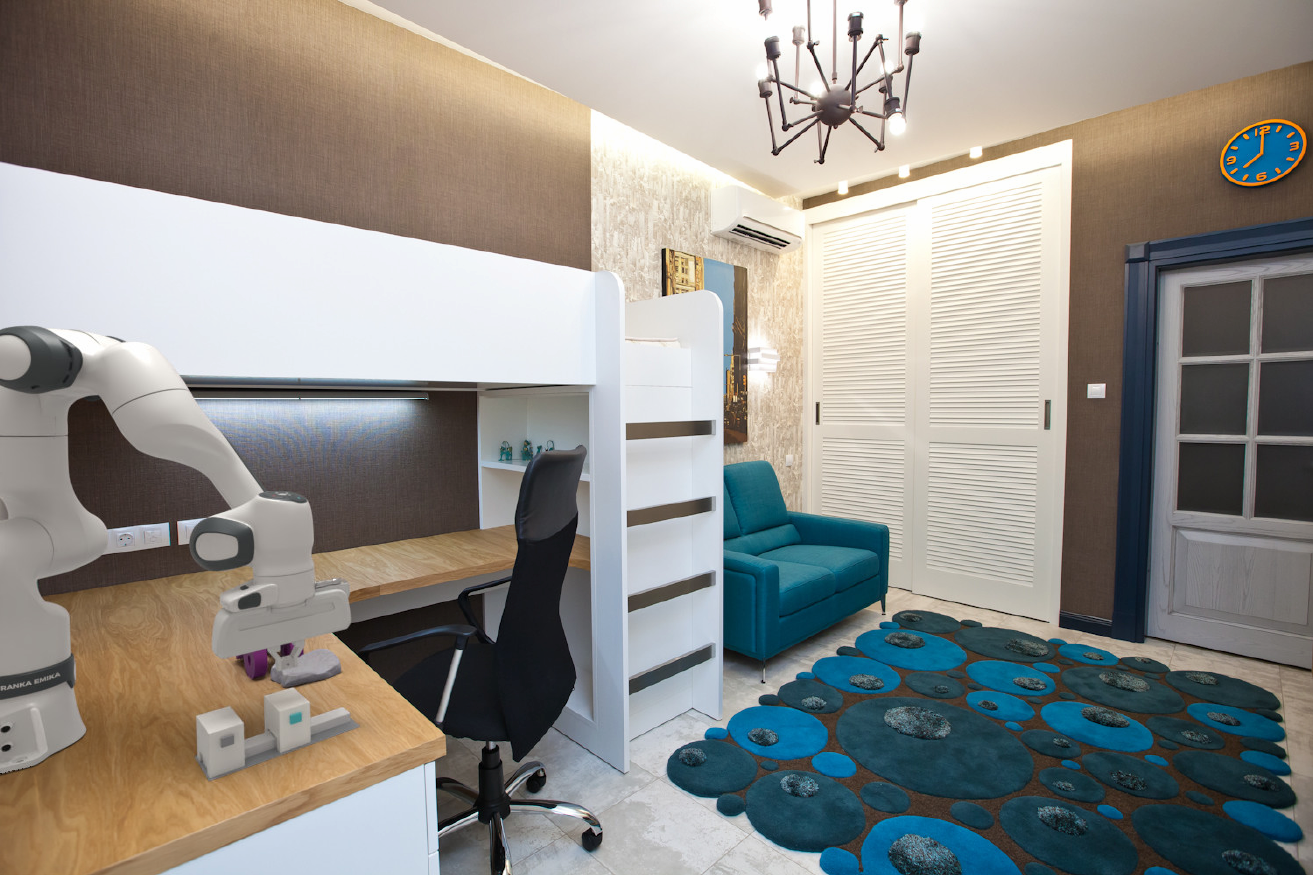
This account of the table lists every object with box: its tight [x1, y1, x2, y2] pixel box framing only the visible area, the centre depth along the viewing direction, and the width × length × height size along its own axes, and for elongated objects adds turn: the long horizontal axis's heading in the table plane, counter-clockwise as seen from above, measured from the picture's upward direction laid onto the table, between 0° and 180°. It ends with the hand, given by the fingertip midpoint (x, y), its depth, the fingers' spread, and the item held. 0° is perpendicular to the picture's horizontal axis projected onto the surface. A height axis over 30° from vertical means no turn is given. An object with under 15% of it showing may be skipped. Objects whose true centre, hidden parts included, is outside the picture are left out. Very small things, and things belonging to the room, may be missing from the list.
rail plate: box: [193, 706, 361, 782], centre depth 103 cm, size 22×10×2 cm, turn 137°
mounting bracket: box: [235, 642, 305, 680], centre depth 137 cm, size 9×8×18 cm
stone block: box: [269, 648, 342, 688], centre depth 131 cm, size 12×5×10 cm
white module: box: [263, 687, 311, 753], centre depth 103 cm, size 4×9×7 cm, turn 47°
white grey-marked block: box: [195, 705, 245, 778], centre depth 96 cm, size 4×9×7 cm, turn 47°
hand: (286, 668), depth 103 cm, fingers closed
